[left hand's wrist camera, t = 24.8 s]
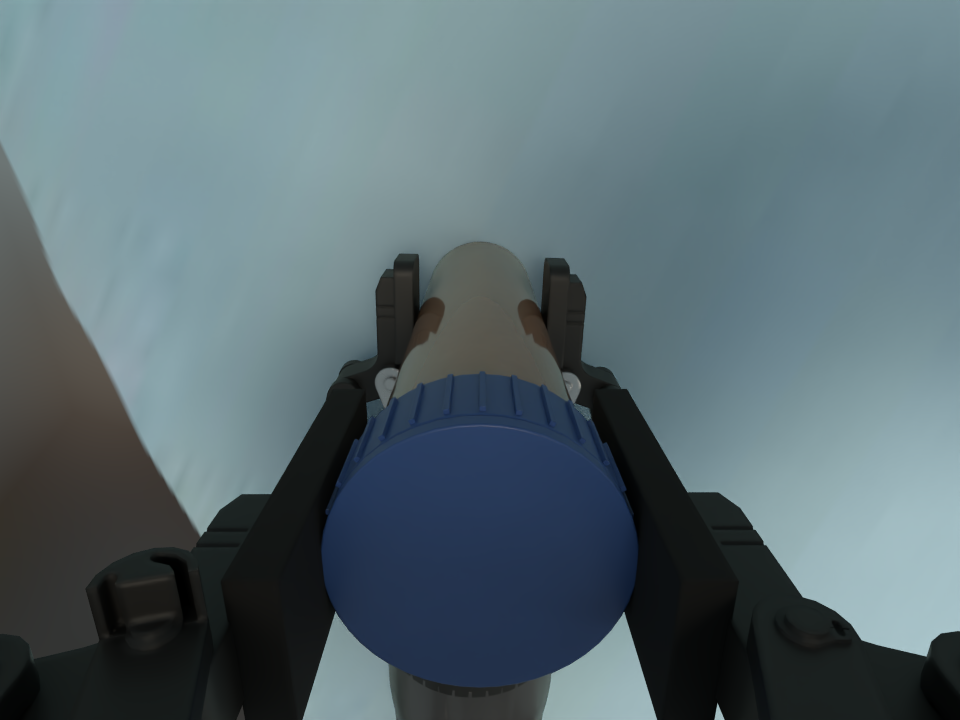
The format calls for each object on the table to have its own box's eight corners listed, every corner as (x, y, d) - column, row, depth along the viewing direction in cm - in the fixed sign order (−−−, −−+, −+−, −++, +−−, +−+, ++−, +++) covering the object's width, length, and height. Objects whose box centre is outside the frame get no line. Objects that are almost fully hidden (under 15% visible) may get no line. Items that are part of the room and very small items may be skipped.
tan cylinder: (544, 259, 28) (651, 462, 11) (511, 352, 30) (558, 664, 12) (445, 227, 28) (386, 384, 10) (417, 323, 29) (323, 605, 12)
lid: (666, 430, 12) (705, 492, 10) (546, 636, 14) (558, 726, 12) (398, 325, 11) (380, 367, 9) (308, 557, 13) (275, 637, 11)
